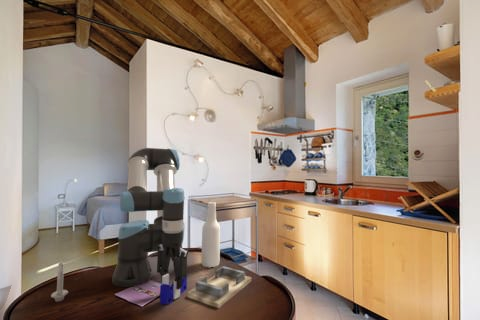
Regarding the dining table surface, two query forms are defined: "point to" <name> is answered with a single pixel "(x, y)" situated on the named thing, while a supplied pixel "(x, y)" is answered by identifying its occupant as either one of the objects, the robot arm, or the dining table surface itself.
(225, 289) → the board
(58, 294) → the screw
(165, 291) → the cable clip
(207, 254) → the alcohol
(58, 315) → the dining table surface
